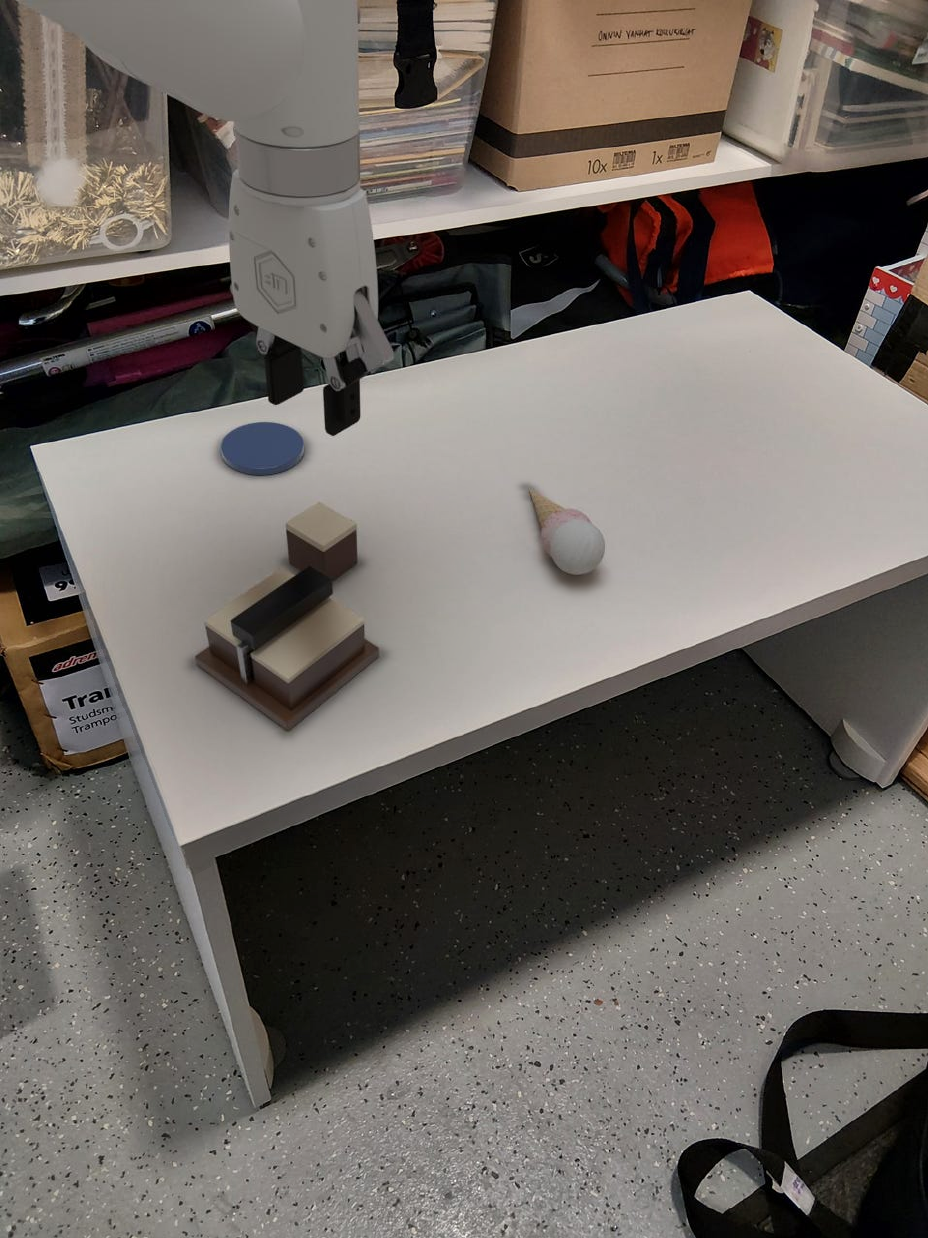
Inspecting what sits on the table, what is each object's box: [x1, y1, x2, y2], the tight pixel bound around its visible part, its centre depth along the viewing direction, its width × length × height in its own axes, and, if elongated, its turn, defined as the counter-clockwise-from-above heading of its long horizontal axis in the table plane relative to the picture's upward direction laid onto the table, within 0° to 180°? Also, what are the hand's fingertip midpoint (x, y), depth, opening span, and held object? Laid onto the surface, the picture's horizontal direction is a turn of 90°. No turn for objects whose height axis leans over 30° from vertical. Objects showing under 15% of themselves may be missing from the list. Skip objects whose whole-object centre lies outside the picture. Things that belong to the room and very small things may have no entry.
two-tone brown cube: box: [285, 501, 358, 582], centre depth 80 cm, size 4×4×4 cm
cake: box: [194, 567, 380, 732], centre depth 72 cm, size 10×10×4 cm
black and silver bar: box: [231, 565, 334, 685], centre depth 70 cm, size 9×2×6 cm, turn 142°
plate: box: [220, 421, 305, 476], centre depth 92 cm, size 8×8×1 cm
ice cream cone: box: [528, 488, 606, 576], centre depth 85 cm, size 5×5×15 cm
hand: (314, 409), depth 71 cm, fingers open, 5 cm apart
